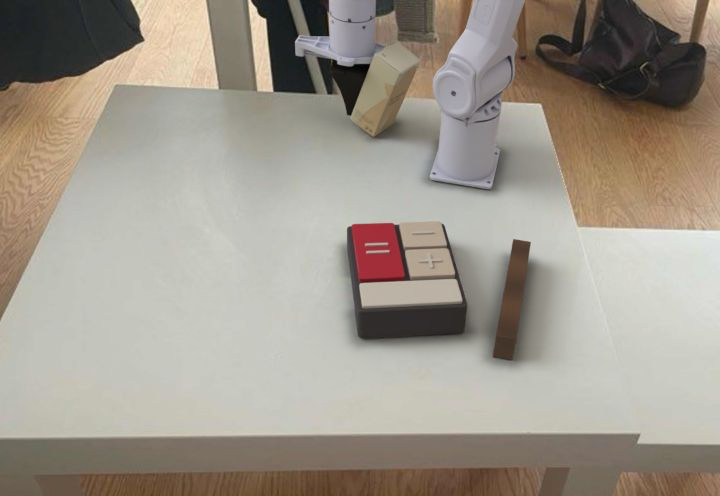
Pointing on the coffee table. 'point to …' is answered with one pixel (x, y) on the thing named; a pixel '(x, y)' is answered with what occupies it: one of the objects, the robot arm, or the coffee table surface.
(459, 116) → the robot arm
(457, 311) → the calculator
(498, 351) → the rail
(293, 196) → the coffee table surface
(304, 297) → the coffee table surface
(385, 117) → the box
